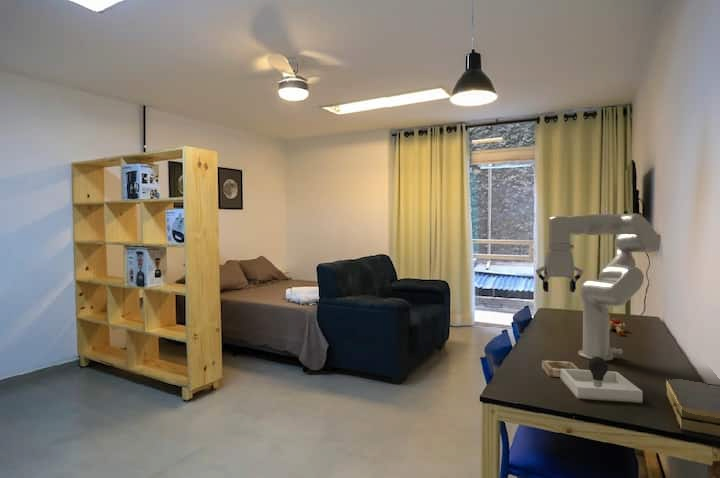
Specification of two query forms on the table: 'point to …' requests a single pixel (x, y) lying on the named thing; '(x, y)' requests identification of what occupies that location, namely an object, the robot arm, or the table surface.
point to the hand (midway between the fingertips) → (559, 291)
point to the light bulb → (598, 370)
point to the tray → (611, 388)
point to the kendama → (617, 326)
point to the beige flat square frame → (556, 367)
